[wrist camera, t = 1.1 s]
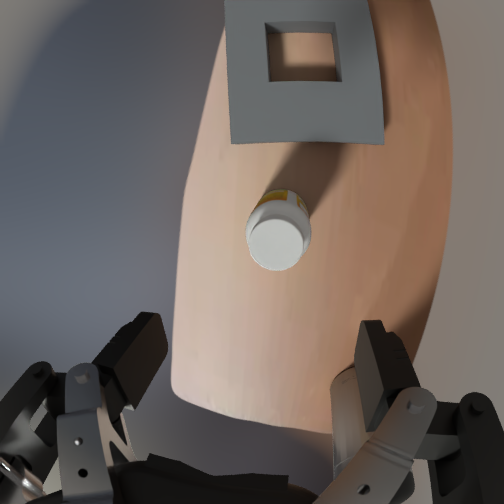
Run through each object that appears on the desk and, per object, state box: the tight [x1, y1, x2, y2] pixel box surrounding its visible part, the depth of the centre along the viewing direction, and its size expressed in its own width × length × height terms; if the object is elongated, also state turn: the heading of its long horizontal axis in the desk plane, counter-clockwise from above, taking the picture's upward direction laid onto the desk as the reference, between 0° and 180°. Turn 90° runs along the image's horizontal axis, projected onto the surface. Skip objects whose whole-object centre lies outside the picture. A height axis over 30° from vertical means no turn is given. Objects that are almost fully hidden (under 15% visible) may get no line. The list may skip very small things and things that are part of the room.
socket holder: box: [224, 0, 384, 145], centre depth 21 cm, size 18×14×3 cm
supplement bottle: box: [246, 189, 311, 271], centre depth 24 cm, size 5×5×10 cm
